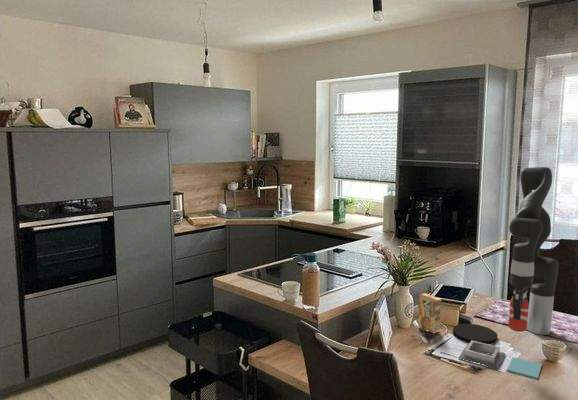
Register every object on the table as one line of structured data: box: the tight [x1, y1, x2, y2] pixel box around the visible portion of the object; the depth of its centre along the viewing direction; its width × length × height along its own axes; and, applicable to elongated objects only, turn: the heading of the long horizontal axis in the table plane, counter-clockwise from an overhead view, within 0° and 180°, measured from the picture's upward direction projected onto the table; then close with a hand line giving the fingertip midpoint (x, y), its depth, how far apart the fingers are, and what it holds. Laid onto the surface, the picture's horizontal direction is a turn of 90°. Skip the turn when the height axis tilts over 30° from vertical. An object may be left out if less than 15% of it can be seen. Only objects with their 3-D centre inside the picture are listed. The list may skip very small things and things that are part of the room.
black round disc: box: [452, 323, 498, 345], centre depth 203 cm, size 18×18×2 cm
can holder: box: [458, 340, 506, 371], centre depth 183 cm, size 14×14×4 cm
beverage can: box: [507, 296, 529, 333], centre depth 174 cm, size 6×6×12 cm
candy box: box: [417, 293, 442, 333], centre depth 207 cm, size 9×4×15 cm, turn 34°
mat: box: [506, 356, 543, 380], centre depth 175 cm, size 12×10×1 cm
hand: (518, 316), depth 174 cm, fingers closed on beverage can, 6 cm apart
